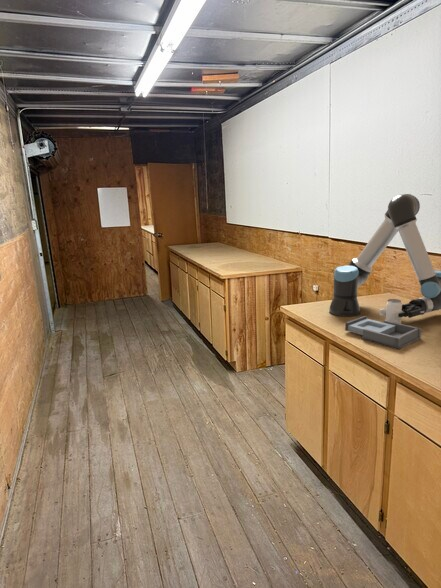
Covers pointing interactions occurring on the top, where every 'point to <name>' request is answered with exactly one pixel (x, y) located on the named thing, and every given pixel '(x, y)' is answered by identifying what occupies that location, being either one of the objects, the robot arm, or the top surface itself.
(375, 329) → the tray
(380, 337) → the tray
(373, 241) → the robot arm
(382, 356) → the top surface
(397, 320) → the can
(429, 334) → the top surface
